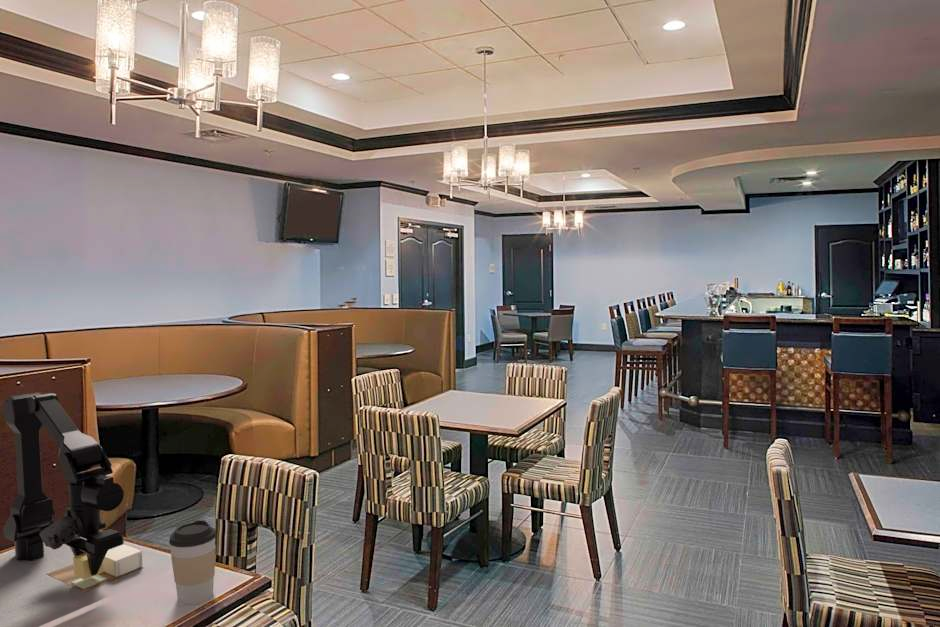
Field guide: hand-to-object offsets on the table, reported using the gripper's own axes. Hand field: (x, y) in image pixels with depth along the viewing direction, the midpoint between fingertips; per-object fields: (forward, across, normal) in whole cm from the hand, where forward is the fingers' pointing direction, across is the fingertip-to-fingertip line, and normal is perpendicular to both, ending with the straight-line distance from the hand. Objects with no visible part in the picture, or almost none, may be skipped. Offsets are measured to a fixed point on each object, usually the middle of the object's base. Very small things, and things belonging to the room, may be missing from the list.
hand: (88, 572), depth 144 cm
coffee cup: (+3, +24, +9) cm, 26 cm away
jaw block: (0, 0, 0) cm, 0 cm away
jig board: (+3, -4, +4) cm, 6 cm away
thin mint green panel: (+3, 0, 0) cm, 3 cm away
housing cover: (+2, 0, +7) cm, 7 cm away
